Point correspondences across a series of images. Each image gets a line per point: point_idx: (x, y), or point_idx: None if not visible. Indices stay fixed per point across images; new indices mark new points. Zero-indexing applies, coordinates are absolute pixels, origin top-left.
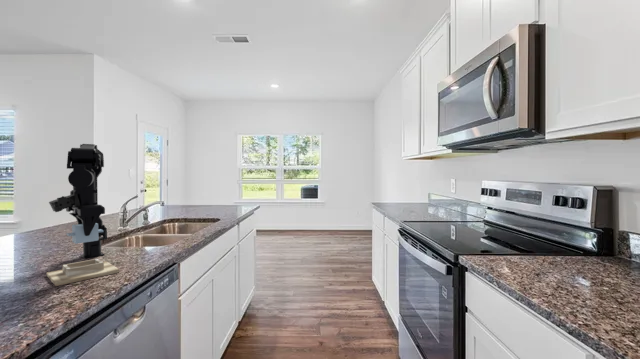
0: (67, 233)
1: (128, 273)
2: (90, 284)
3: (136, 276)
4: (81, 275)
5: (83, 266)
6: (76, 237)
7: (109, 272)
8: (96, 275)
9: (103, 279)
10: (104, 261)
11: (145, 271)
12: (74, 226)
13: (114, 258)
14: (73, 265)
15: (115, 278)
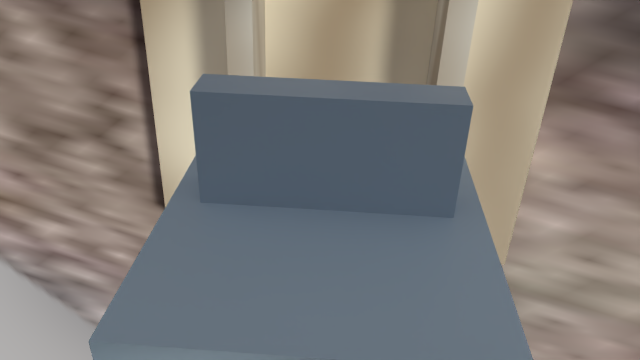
0: (399, 109)
1: (119, 249)
2: (15, 8)
3: (13, 251)
4: (198, 10)
5: (230, 59)
6: (192, 171)
7: (165, 178)
8: (154, 96)
9: (86, 108)
10: (502, 255)
11: (90, 316)
12: (201, 334)
13: (620, 334)
14: (443, 24)
15: (55, 164)
